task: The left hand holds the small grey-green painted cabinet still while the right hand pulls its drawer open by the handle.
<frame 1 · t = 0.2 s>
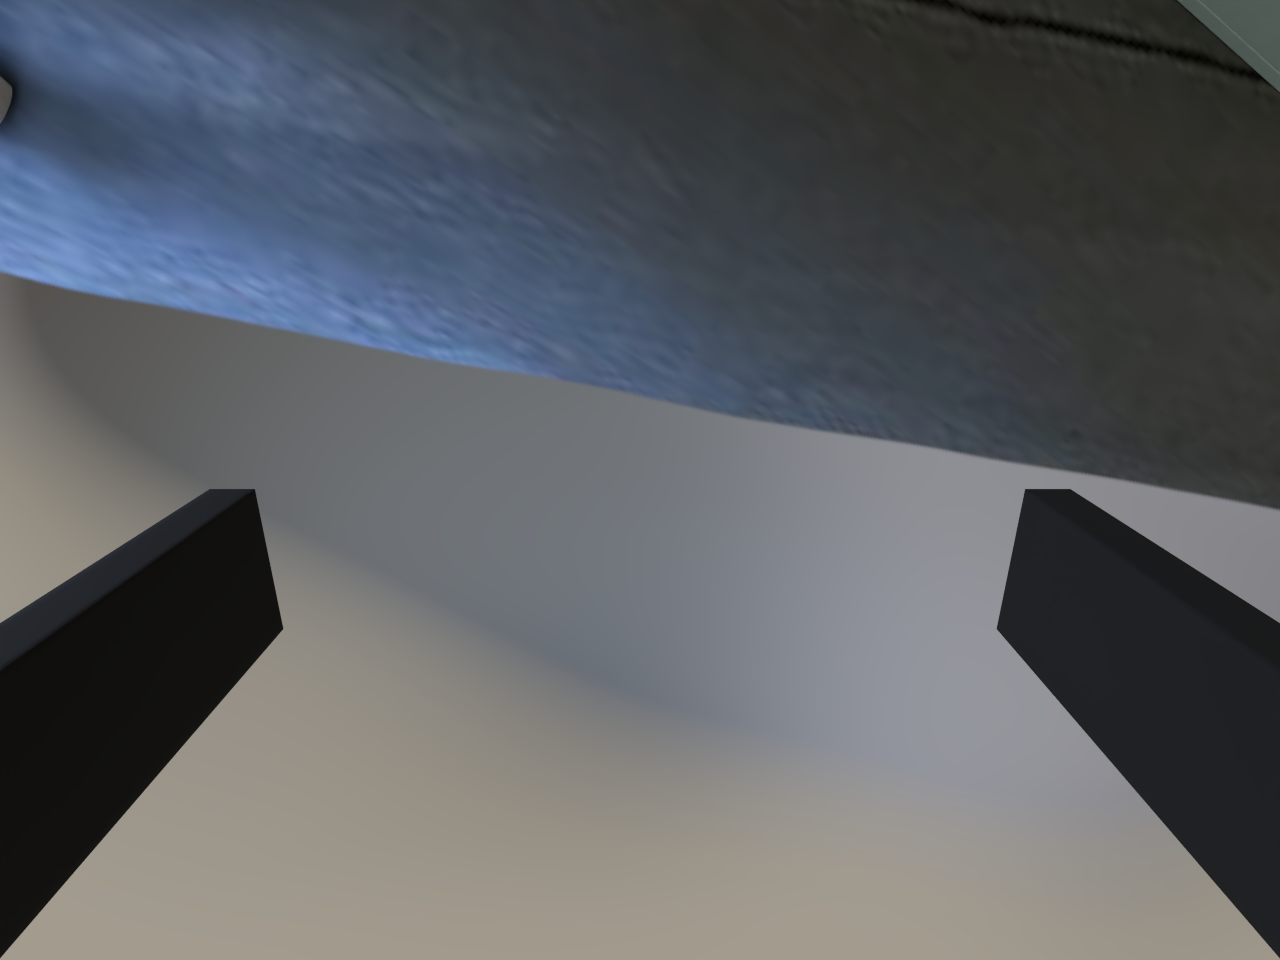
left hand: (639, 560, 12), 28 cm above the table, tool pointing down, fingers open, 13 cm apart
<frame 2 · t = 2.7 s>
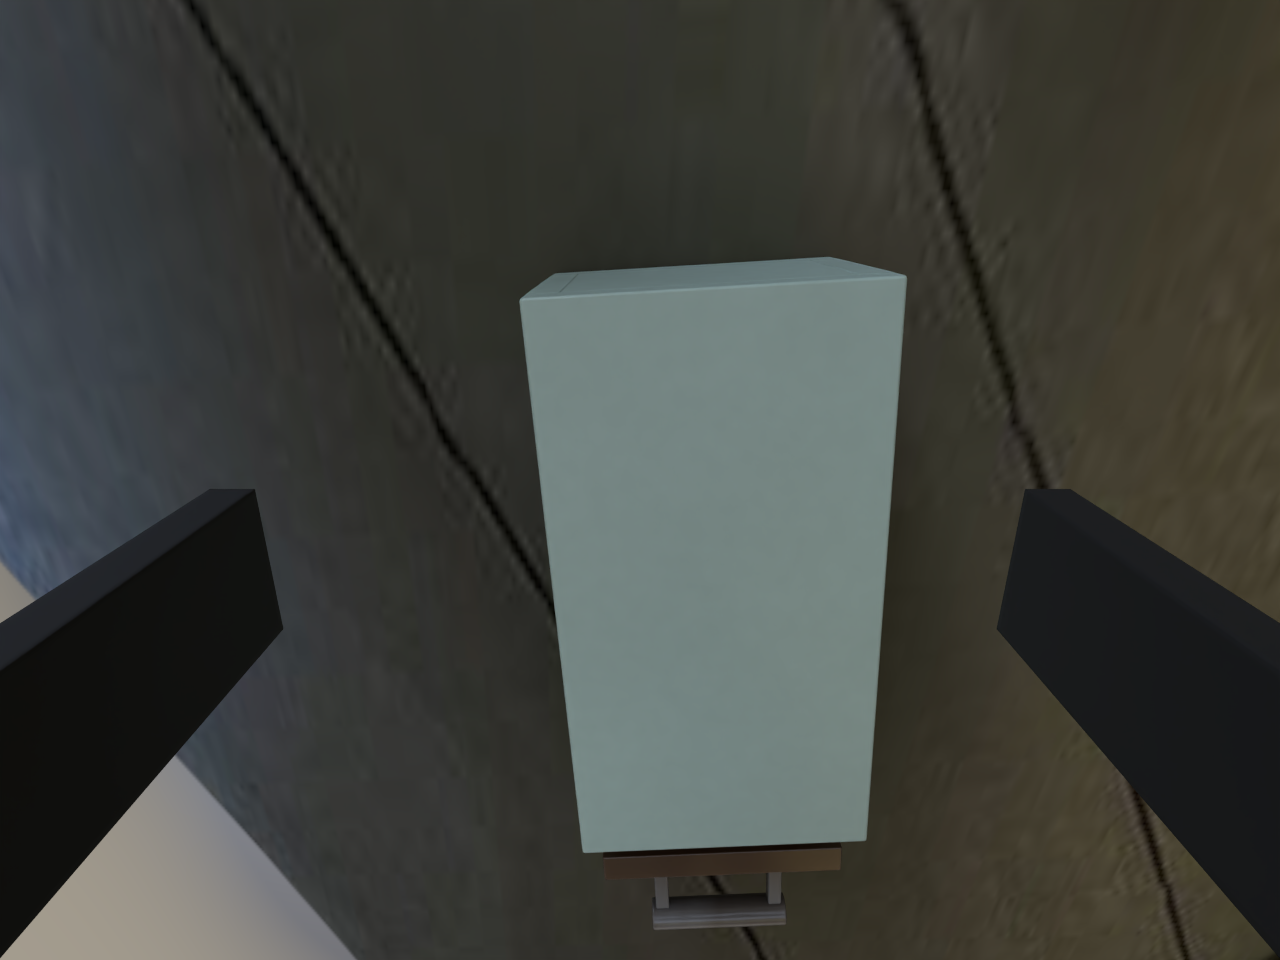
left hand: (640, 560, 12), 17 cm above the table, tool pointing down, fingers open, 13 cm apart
drawer: (711, 690, 29), point 4 cm above the table, slide at 1.4 cm
cabinet: (699, 509, 31), on the table
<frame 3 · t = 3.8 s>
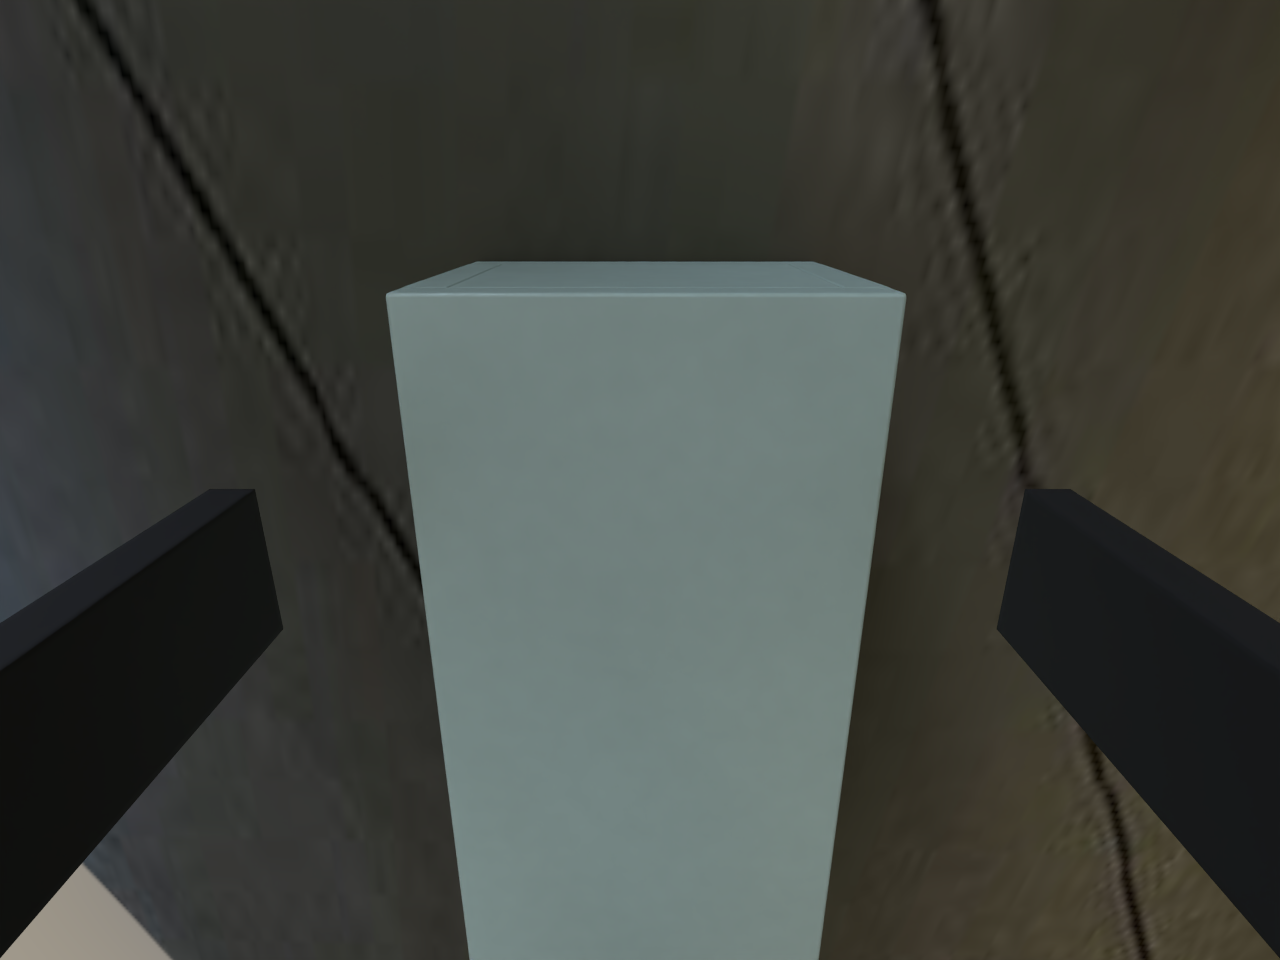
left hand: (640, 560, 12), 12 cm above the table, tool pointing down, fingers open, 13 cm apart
cabinet: (644, 553, 26), on the table
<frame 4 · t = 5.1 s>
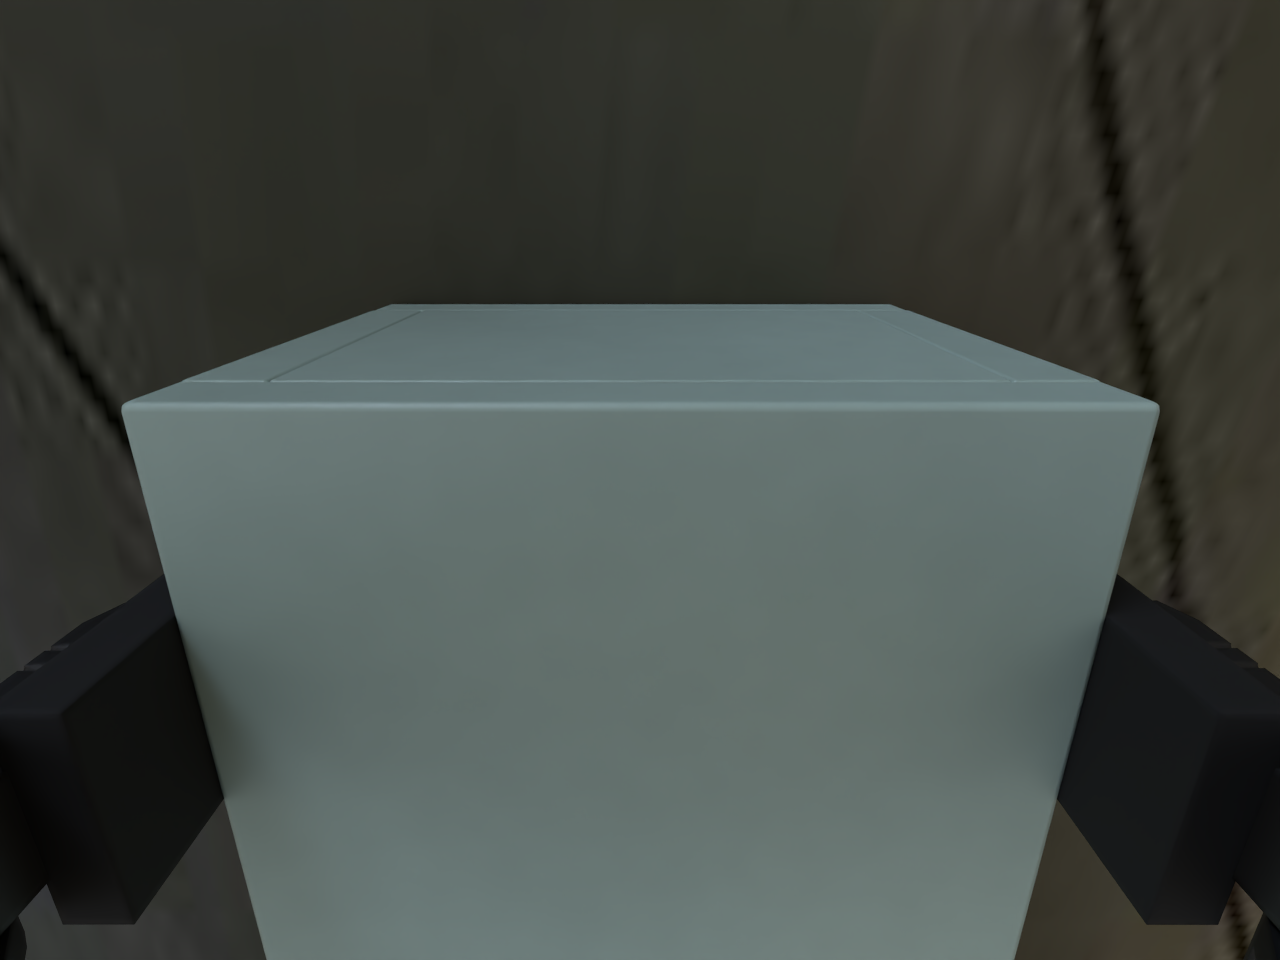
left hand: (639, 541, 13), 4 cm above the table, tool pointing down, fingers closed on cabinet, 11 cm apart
cabinet: (640, 702, 19), on the table, touching left hand
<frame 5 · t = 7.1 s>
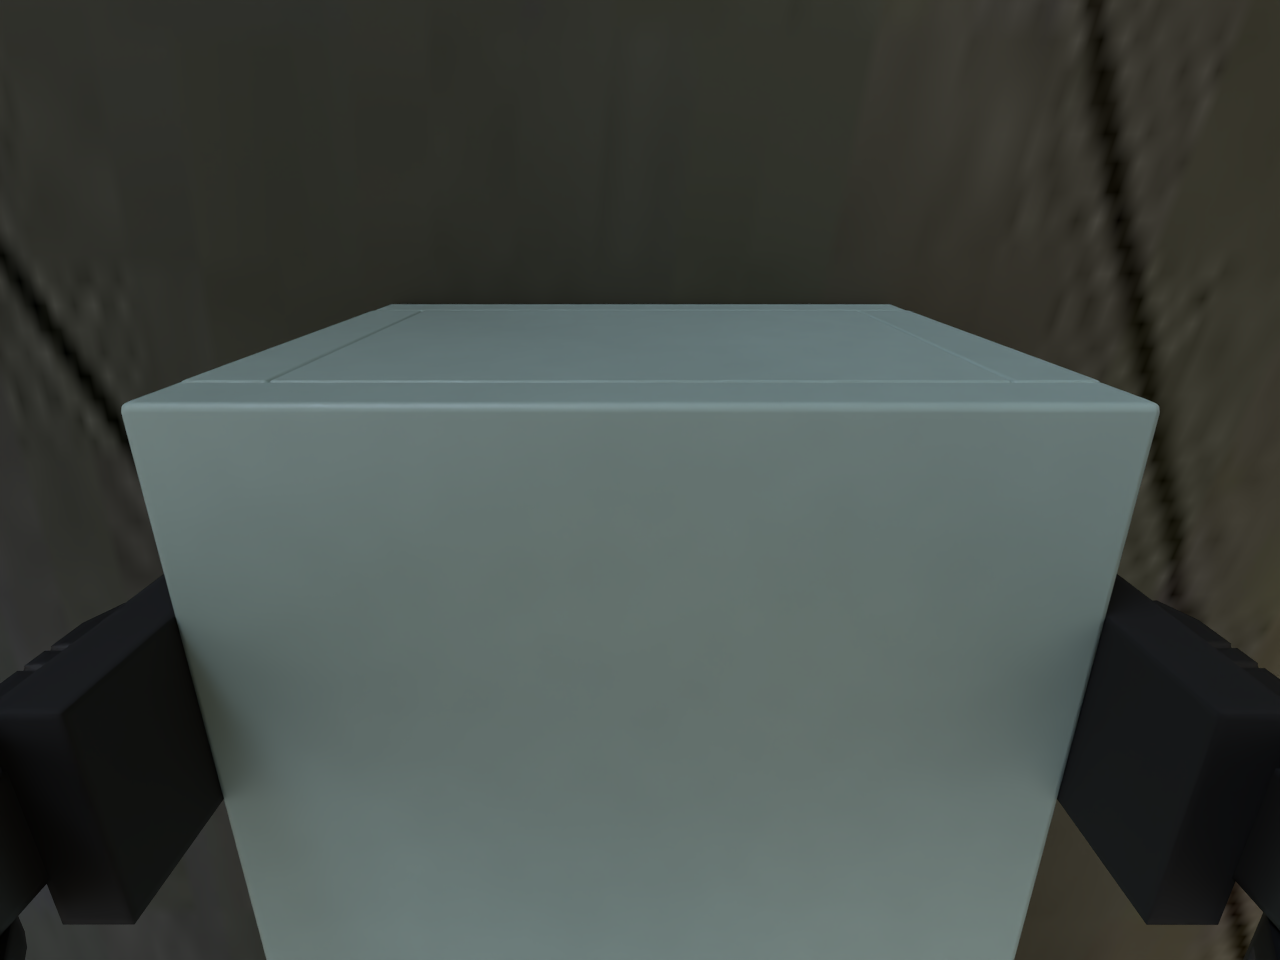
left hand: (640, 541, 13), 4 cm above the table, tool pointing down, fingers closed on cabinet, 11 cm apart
cabinet: (640, 702, 19), on the table, touching left hand
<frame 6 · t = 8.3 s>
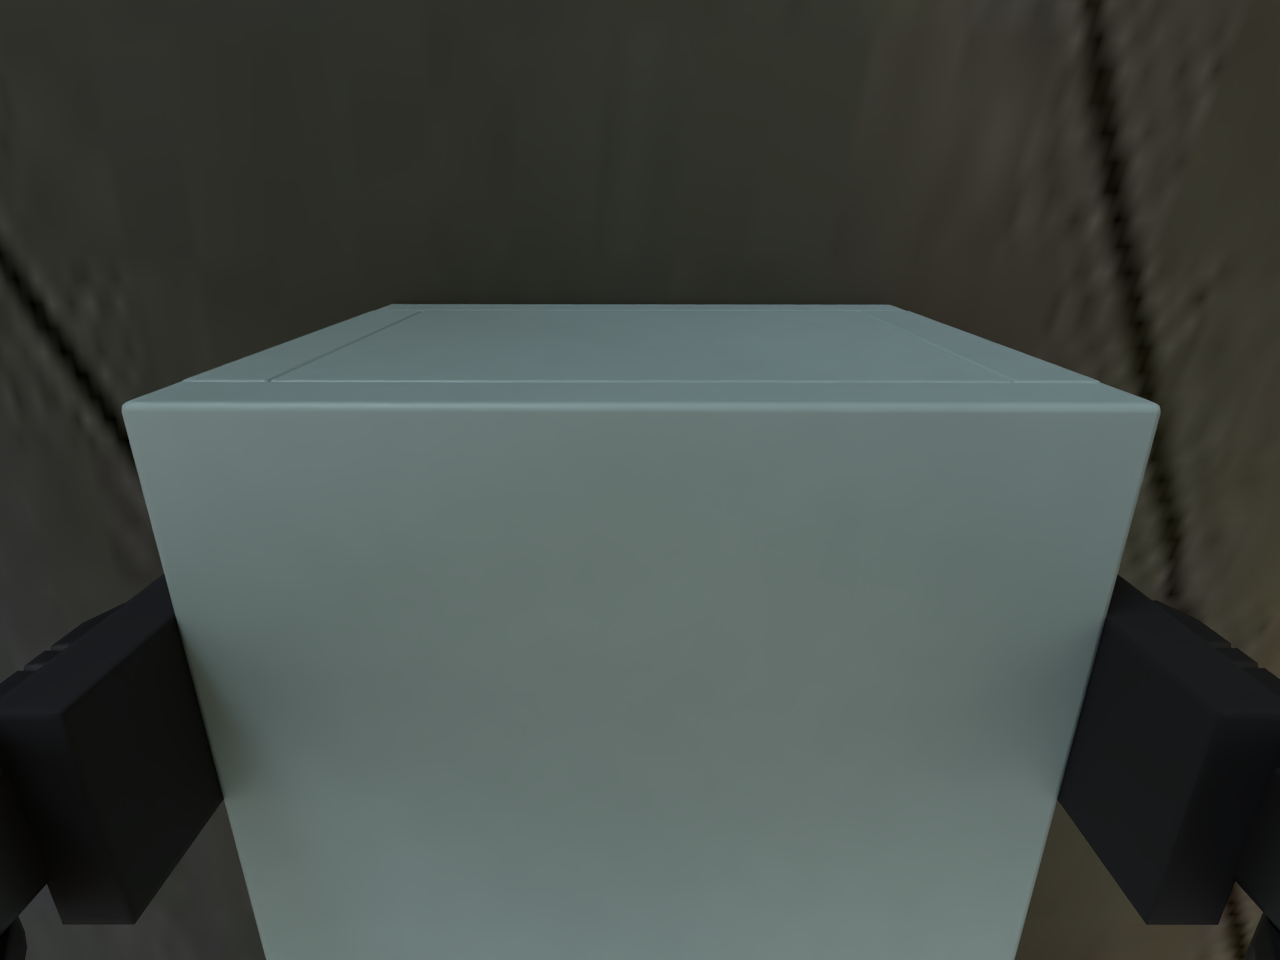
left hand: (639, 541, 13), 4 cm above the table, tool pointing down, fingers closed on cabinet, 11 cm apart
cabinet: (640, 703, 19), on the table, touching left hand
when the left hand's fingers open (4 cm above the table, at t = 9.6 s): cabinet stays where it is, on the table.
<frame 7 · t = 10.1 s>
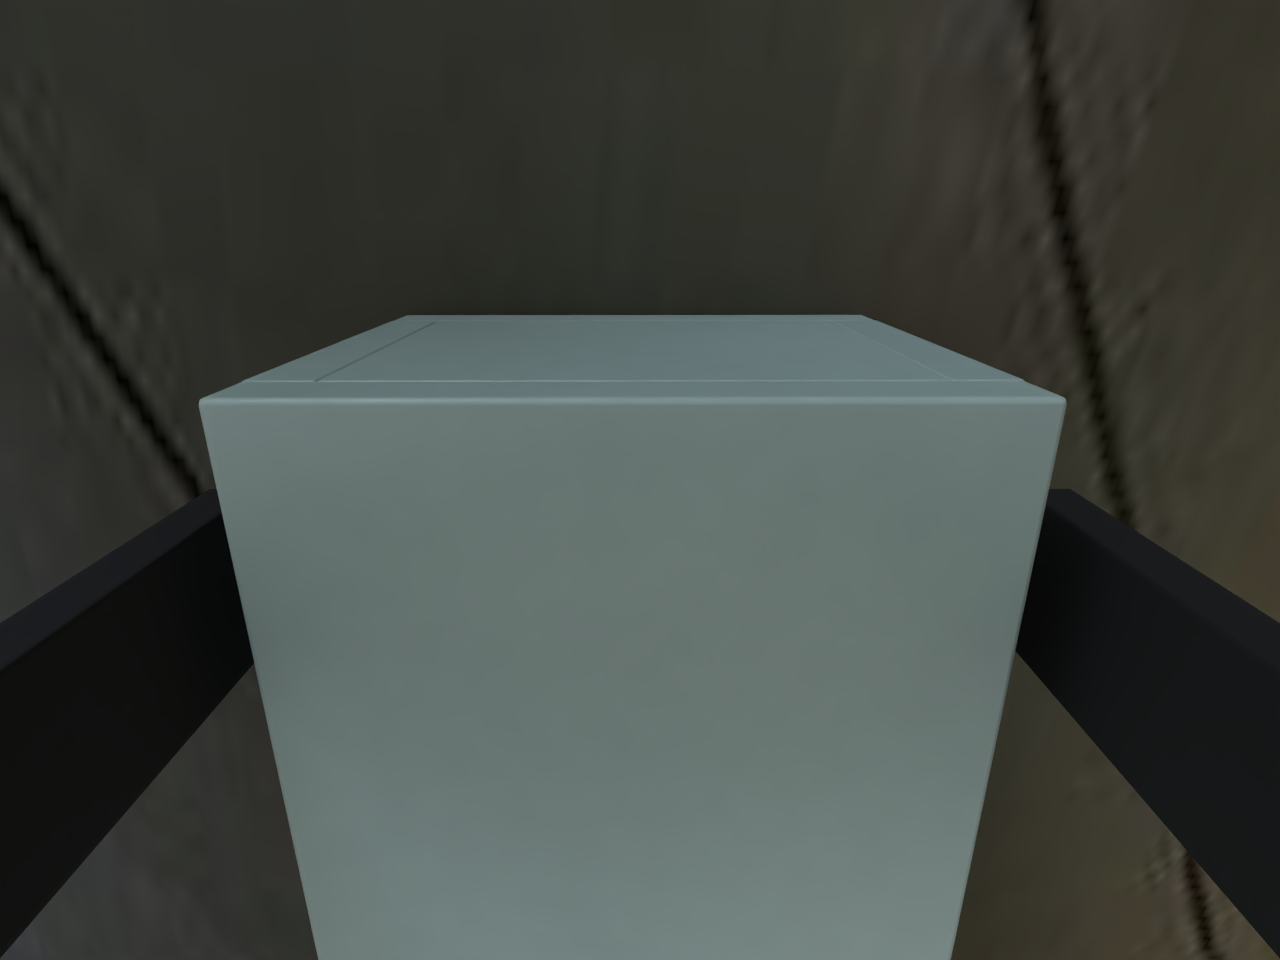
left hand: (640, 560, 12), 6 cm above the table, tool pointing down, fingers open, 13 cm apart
cabinet: (635, 685, 20), on the table
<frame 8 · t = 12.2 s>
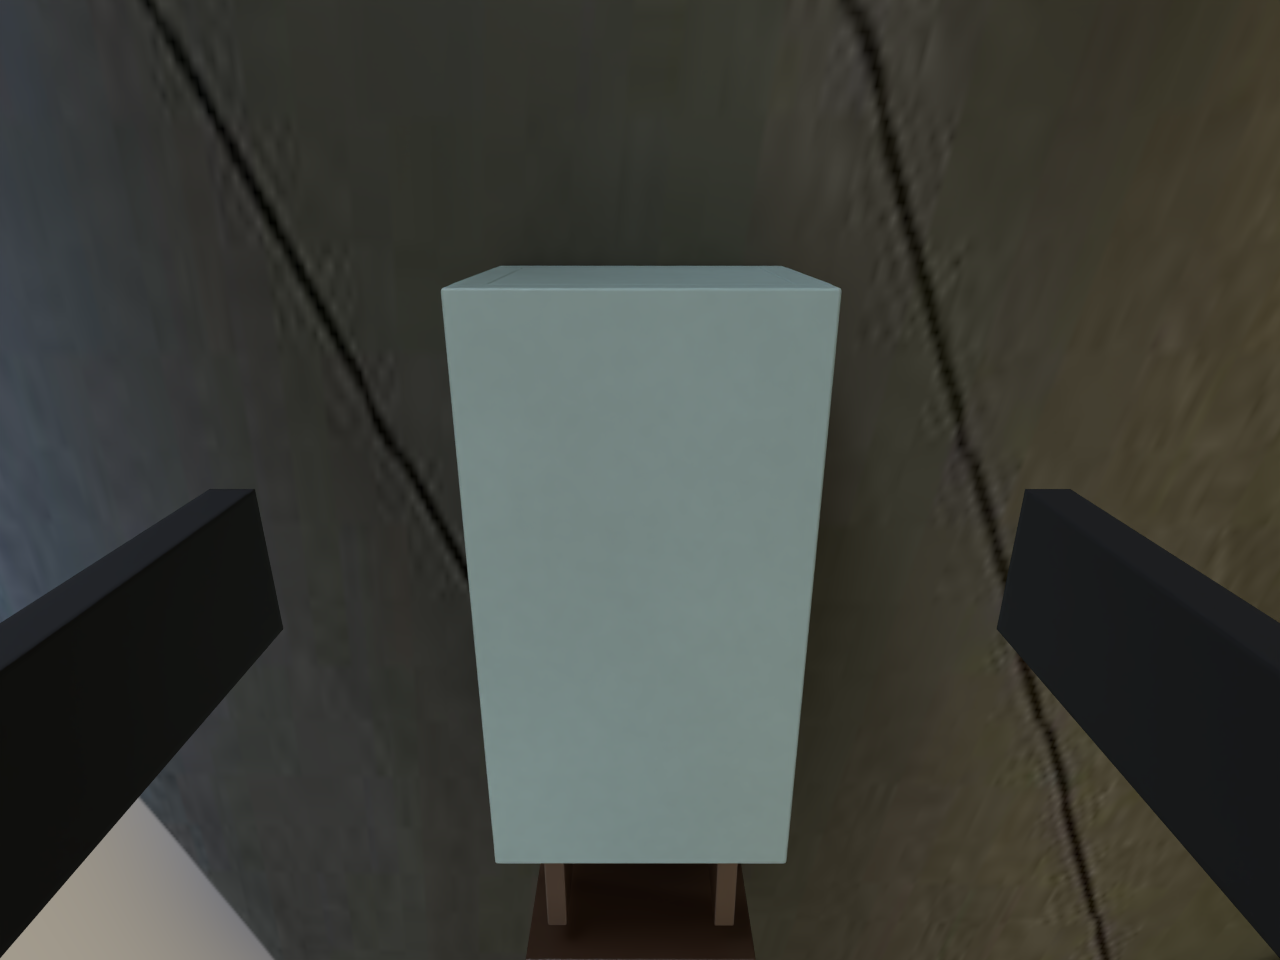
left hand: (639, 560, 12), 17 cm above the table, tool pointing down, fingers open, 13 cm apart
drawer: (640, 799, 30), point 4 cm above the table, slide at 6.4 cm
cabinet: (640, 516, 30), on the table
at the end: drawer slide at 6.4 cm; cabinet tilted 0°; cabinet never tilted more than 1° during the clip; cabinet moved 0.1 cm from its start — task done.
